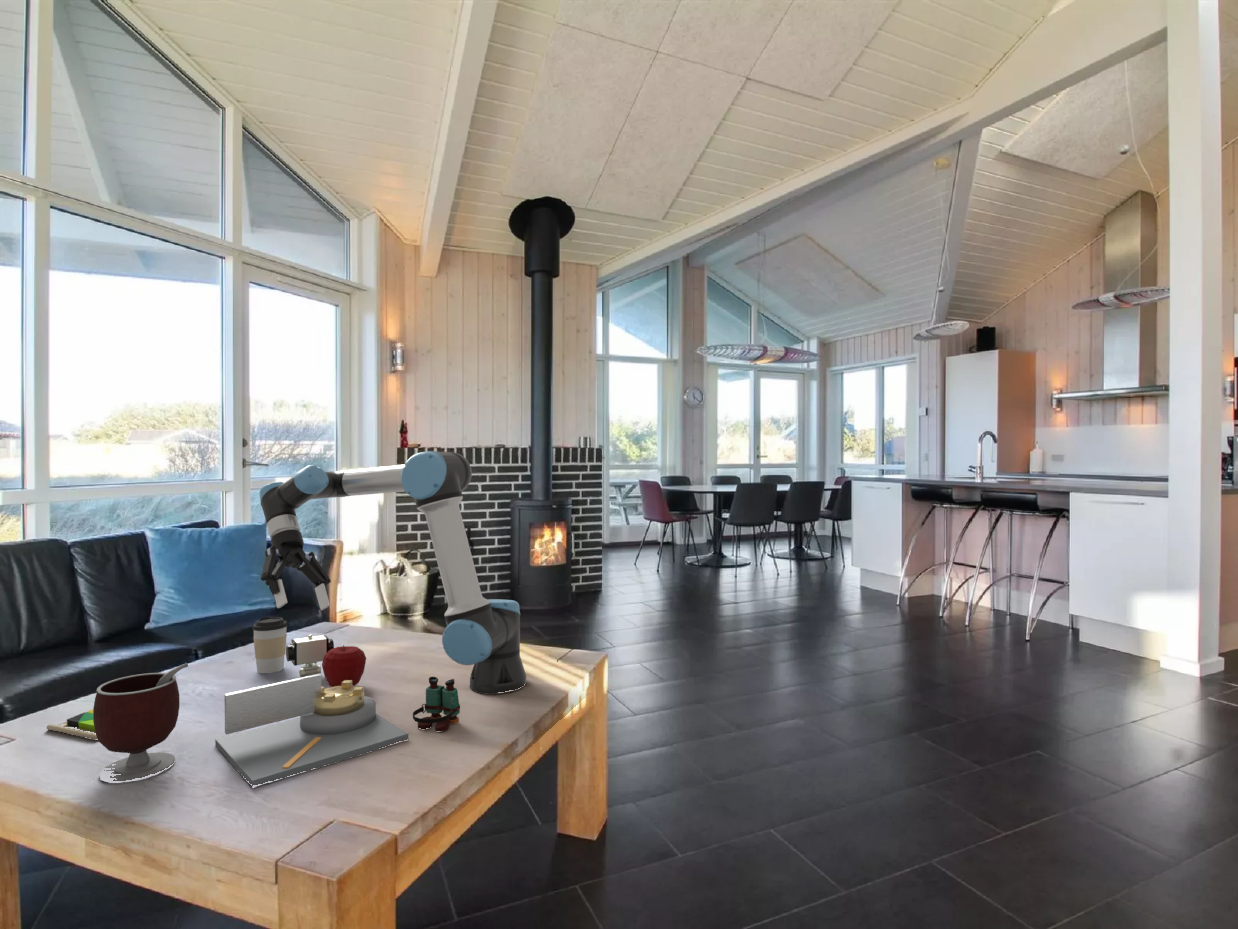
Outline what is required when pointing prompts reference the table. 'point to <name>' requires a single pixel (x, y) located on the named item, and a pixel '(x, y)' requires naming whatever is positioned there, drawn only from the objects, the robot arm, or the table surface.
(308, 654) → the pneumatic valve
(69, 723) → the wooden puzzle
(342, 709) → the two-tone lugged fixture
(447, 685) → the binoculars
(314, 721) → the grey flat slab
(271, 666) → the coffee cup
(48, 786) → the table surface
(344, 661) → the apple
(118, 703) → the mate gourd
